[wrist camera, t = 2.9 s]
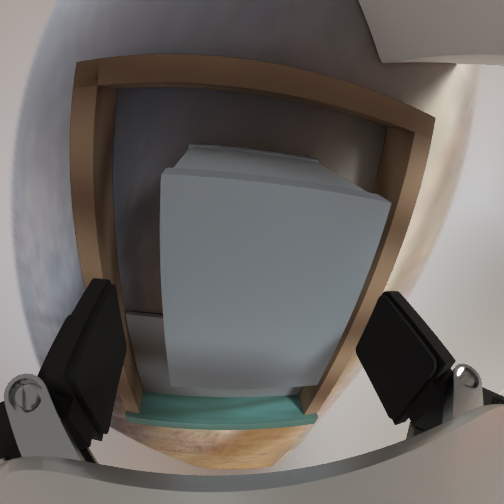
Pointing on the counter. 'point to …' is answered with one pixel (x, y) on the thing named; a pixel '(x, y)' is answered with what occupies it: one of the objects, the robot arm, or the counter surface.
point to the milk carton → (437, 30)
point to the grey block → (260, 265)
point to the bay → (152, 325)
